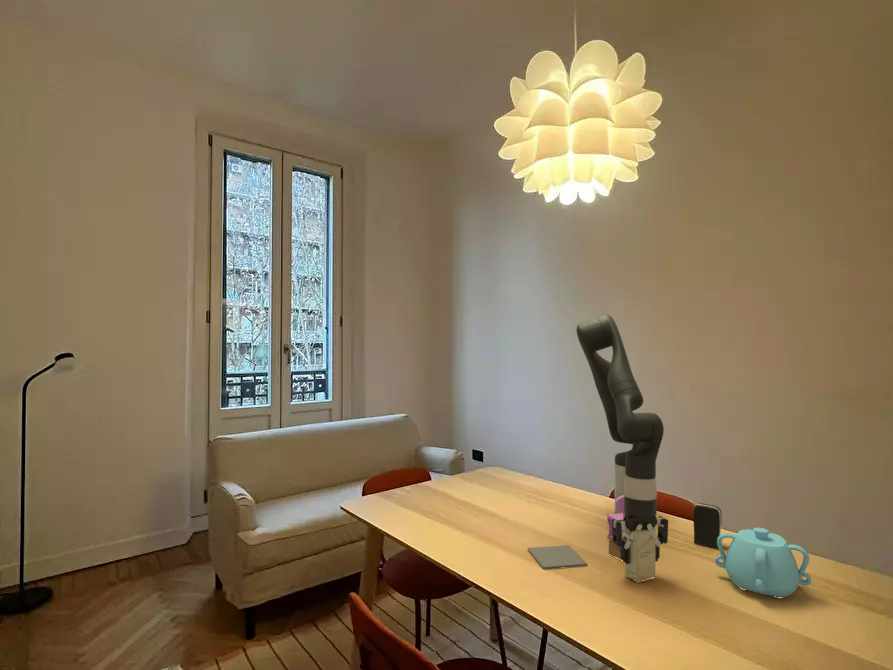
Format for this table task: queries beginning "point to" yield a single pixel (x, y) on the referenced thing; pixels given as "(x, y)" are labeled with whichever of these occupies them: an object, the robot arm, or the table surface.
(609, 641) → the table surface
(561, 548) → the coaster
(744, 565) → the decorative pot
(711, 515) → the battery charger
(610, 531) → the toy chair
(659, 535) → the robot arm
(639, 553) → the skincare box
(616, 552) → the walnut block
